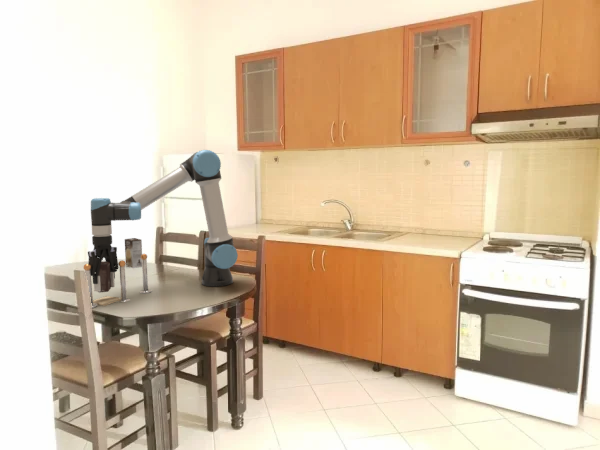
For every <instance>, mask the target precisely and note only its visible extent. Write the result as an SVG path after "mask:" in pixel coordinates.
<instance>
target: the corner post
mask: <svg viewBox="0 0 600 450" xmlns="http://www.w3.org/2000/svg"><path fill="white" fill-rule="evenodd" d="M125 266H126V260H125V261H124V260H120V261H118V267H119V280H120V281H119V283H120V298H121V300H119V301H117V302H119V303H122V302H123V303H125V302H130V301H131V299H130V298H127V289H126V288H127V287H126V286H127V284H126V269H125Z"/></svg>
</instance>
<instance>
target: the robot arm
mask: <svg viewBox="0 0 600 450" xmlns="http://www.w3.org/2000/svg"><path fill="white" fill-rule="evenodd" d="M221 164H222V162H221V159H220V157H219V155H218V154H217V153H216V152H214V151H212V150H208V149H203V150H199V151H196V152H195V153H193V154H191V156H190V157H188V158H187V159H186V160H184V161H183V162H181V163H180V164H179V167H177V168H176V169H174V170H172V171H171V172H169V173H167V174H165V175H164V176H163V177H161V178H159V179H157V180H155V181H154V182H152V183H151V184H149V185H148V186H146V187H145V188H143V189H141V190H139V191H138V192H136V193H134V194H133V195H131V196H130V197H128V198H126V199H124V200H122V201H120V202H111V198H109V197H105V198H103V197H101V198H100V197H99V198H98V197H94V198H91V200H90V217H91V218H90V221H91V222H90V223H91V235H92V236H91V237H92V238H91V240H92V246H93V250H91V251H89V250H88V251H87V257H88V263H87V264H90V265H91V269H90V271H91V278H92V284H93V291H94V292H97V293H101V292H100V291H101V286H100V276H98V274H99V270H100V266H101V262H102V261H103V260H105V261H107V262H110V277H111V288H115V285H116V284H115V279H116V272H117V271H118V270H119V269H120V266H119V264H118V263H119V261H118V255H117V252H118V251H117V250H118V247H117V246H112V244H113V236H112V234H113V233H112V231H113V230H112V228H113V227H112V222H113V221H114V222H116V221H138V220H141V219H142V210H144V209H146V208H147V207H148V206H150V205H152V204H154V203H155V202H157V201H158V200H160V199H162V198H163V197H165V196H167V195H168V194H170V193H171V192H173V191H175V190H177V189H178V188H180V187H181V186H183V185H185V184H186V183H188V182H193V181H195V184H197V185H198V186H199V189H200V194H201V199H202V203H203V210H204V215H205V220H206V225H207V230H208V237H206V238H204V241H203V245H204V270H203V273H202V278H201V285H203V286H204V287H205V286H206V287H223V286H229V285H231V284H233V283H234V279H233V278H234V277H233V275H232V272H231V269H230V268H231V267H234V265H235V264H236V263H237V260H238V256H239V255H238V251H237V248H236V247H235V245H234V244H235V243H234V239H233V236H232V235H230V234H229V230H228V226H227V220H226V214H225V210H224V203H223V199H222V194H221V186H220V181H221V180H222V176H221V175H222V174H221V167H222V165H221Z"/></svg>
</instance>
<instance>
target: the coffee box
mask: <svg viewBox="0 0 600 450" xmlns="http://www.w3.org/2000/svg"><path fill="white" fill-rule="evenodd" d="M124 253H125V263H126V264H125V266H127V267H129V268H132V269H134V268H139V267H140V268H142V259H141V255H142V254H143V243H142V239H140V238H135V237H131V238H125V239H124Z"/></svg>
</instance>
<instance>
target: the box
mask: <svg viewBox="0 0 600 450" xmlns="http://www.w3.org/2000/svg"><path fill="white" fill-rule="evenodd" d="M98 276H100V286H101V291H100V292H99V293H107V292H110V290H111V289H112V287H111V277H110V262H107V261H106V260H105V261H103V260H102V261H101V266H100V270H99V274H98Z"/></svg>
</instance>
